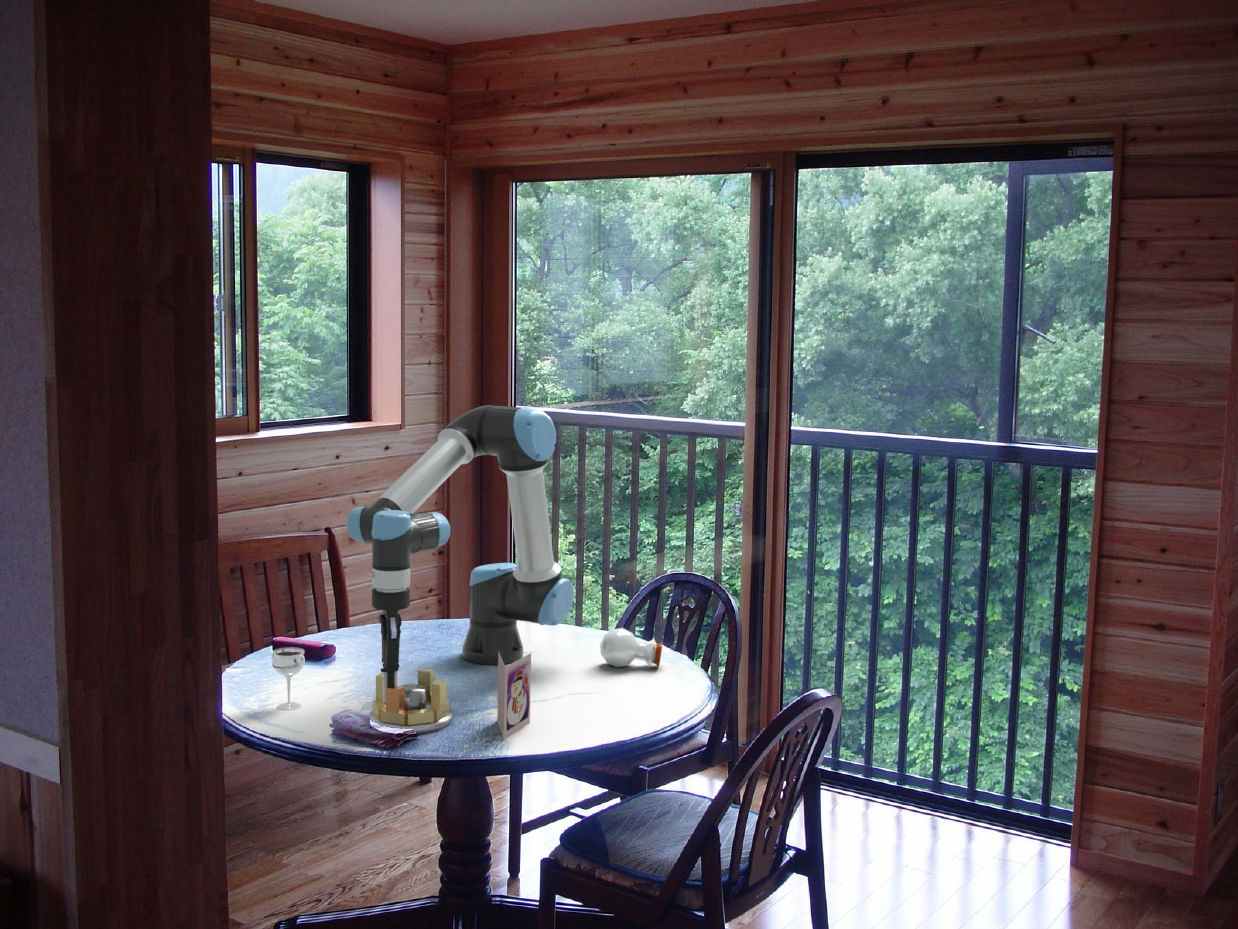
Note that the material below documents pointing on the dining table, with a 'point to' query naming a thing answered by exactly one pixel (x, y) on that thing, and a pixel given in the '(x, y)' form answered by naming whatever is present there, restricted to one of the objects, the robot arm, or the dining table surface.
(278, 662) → the wineglass
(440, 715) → the gold crown
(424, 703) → the silver round piece
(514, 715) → the greeting card
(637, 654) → the potion bottle
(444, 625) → the dining table surface
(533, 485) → the robot arm
